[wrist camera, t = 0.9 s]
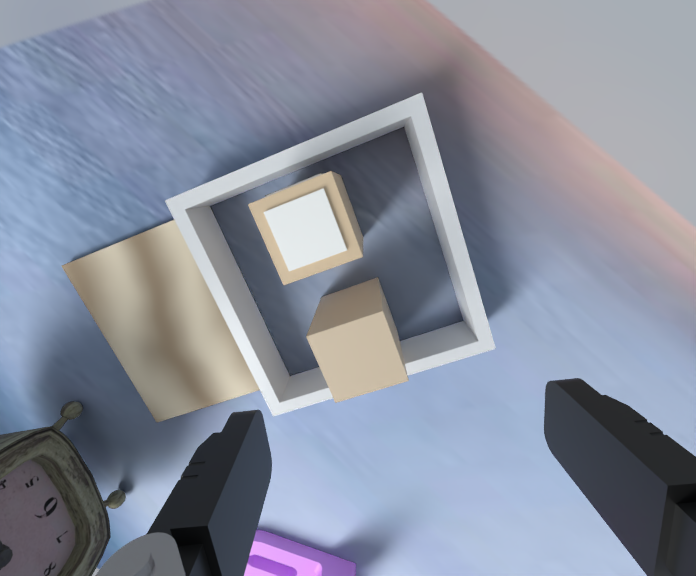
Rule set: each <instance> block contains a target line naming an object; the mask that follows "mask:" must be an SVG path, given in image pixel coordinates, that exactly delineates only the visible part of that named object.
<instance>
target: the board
mask: <svg viewBox="0 0 696 576" xmlns="http://www.w3.org/2000/svg"><path fill="white" fill-rule="evenodd" d="M62 268H63V269H64V271H65V273H66V274H67V276H68V278H69V279H70V281H71V283H72V284H73V286H74V287H75V289H76V291H77V292H78V294H79V296H80V297H81V299H82V301H83V302H84V304H85V306H86V307H87V309H88V310H89V312H90V314H91V315H92V317H93V319H94V320H95V322H96V324H97V325H98V327H99V329H100V330H101V332H102V333H103V335H104V337H105V338H106V340H107V342H108V343H109V345H110V347H111V348H112V350H113V352H114V353H115V355H116V356H117V358H118V360H119V361H120V363H121V365H122V366H123V368H124V370H125V371H126V373H127V375H128V376H129V378H130V379H131V381H132V383H133V384H134V386H135V388H136V389H137V391H138V393H139V394H140V396H141V397H142V399H143V401H144V402H145V404H146V406H147V407H148V409H149V411H150V412H151V414H152V416H153V417H154V419H155V420H156V422H161V421H164V420H167V419H170V418H173V417H176V416H180V415H183V414H186V413H189V412H192V411H195V410H198V409H202V408H205V407H208V406H211V405H214V404H217V403H220V402H224V401H227V400H230V399H233V398H236V397H239V396H242V395H246V394H249V393H252V392H255V391H258V390H260V389H259V387H258V385H257V383H256V381H255V379H254V377H253V375H252V373H251V371H250V369H249V367H248V365H247V363H246V361H245V359H244V357H243V355H242V353H241V351H240V349H239V347H238V345H237V343H236V341H235V339H234V337H233V335H232V333H231V331H230V329H229V327H228V325H227V323H226V321H225V319H224V317H223V315H222V313H221V311H220V309H219V307H218V305H217V303H216V301H215V299H214V297H213V295H212V293H211V291H210V289H209V287H208V286H207V284H206V282H205V280H204V278H203V276H202V274H201V272H200V270H199V268H198V266H197V264H196V262H195V260H194V258H193V256H192V254H191V252H190V250H189V248H188V246H187V244H186V242H185V240H184V238H183V236H182V234H181V232H180V230H179V228H178V226H177V224H176V222H175V220H172V221H170V222H167V223H165V224H162V225H160V226H157V227H155V228H153V229H150V230H148V231H145V232H143V233H140V234H138V235H135V236H133V237H131V238H128V239H126V240H123V241H121V242H118V243H116V244H114V245H111V246H109V247H106V248H104V249H101V250H99V251H96V252H94V253H92V254H89V255H87V256H84V257H82V258H79V259H77V260H75V261H72V262H70V263H67V264H65V265H62Z"/></svg>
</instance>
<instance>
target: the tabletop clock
mask: <svg viewBox="0 0 696 576" xmlns="http://www.w3.org/2000/svg"><path fill="white" fill-rule="evenodd" d="M82 410H83V407H82V405H81V403H79V402H75V401H72V402H68V403H66V404H65V405H64V406H63V407H62V409H61V416H62V417H61V418H60V419H59V420H58V421H57V422H56V423H55V424H54V425H53V426H50V427H44V428H38V429H32V430H26V431H20V432H14V433H8V434H2V435H0V576H92V574H93V572H94V571H95V569H96V567H97V565H98V563H99V562H100V560H101V558H102V556H103V554H104V551H105V549H106V546H107V544H108V541H109V539H110V537H111V536H110V524H109V518H108V513H107V510H106V506H108V507H109V508H112V509H115V508H118V507H119V506H121V505H122V504H123V502H124V501H125V498H126V495H125V492H124V491H122V490H116V491H114V492H112V493H111V494H110V495H109V497H108V498H107V500H105V501H103V500H102V497H101V495H100V492H99V490H98V488H97V485H96V483H95V480H94V478H93V476H92V474H91V472H90V470H89V469H88V467H87V466H86V464H85V462H84V461H83V459H82V458H81V456H80V454H79V453H78V451H77V450H76V448H75V447H74V445H73V444H72V442H71V441H70V440H69V439H68V438H67V437H66V436H65V434H63V433H62V432H60V431H59V430H60V429H61V428H62V426H63V425H64V424H65V422H66V421H67V420H68V419H69V420H71V419H75V418H77V417H78V416H79V415H80V414H81V413H82Z"/></svg>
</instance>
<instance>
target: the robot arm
mask: <svg viewBox="0 0 696 576" xmlns="http://www.w3.org/2000/svg"><path fill="white" fill-rule="evenodd" d="M544 434H545V438H546V442H547V444H548V447H549V449H550V451H551V452H552V454H553V455H554V457H555V458H556V459H557V460H558V462H559V463H560V464H561V466H562V467H563V468H564V469H565V471H566V472H567V473H568V474H569V476H570V477H571V478H572V480H573V481H574V482H575V483H576V485H577V486H578V487H579V489H580V490H581V491H582V492H583V494H584V495H585V496H586V498H587V499H588V500H589V501H590V503H591V504H592V505H593V507H594V508H595V509H596V510H597V512H598V513H599V514H600V516H601V517H602V518H603V519H604V521H605V522H606V523H607V525H608V526H609V527H610V528H611V530H612V531H613V532H614V534H615V535H616V536H617V537H618V539H619V540H620V541H621V543H622V544H623V545H624V546H625V548H626V549H627V550H628V552H629V553H630V554H631V555H632V557H633V558H634V559H635V561H636V562H637V563H638V564H639V566H640V567H641V568H642V570H643V571H644V572H645V573H646V575H647V576H696V457H695V456H694V455H693V454H691V453H690V452H689V451H687V450H686V449H685V448H683V447H682V446H681V445H679V444H678V443H677V442H675V441H674V440H673V439H672V438H670V437H669V436H668V435H664V434H663V432H662V431H661V430H660V429H658V428H657V427H656V426H654V425H653V424H652V423H648V422H647V419H645V418H644V417H643V416H641V415H640V414H639V413H637V412H636V411H635V410H633V409H632V408H631V407H630V406H628V405H626V404H624V403H622V402H619V401H617V400H615V399H613V398H611V397H609V396H607V395H601V394H599V393H598V392H597V391H596V390H594V389H593V388H592V387H591V386H589V385H588V384H587V383H586V382H584V381H583V380H582V379H579V378H575V379H565V380H555V381H549V382H548V383H547V385H546V390H545V416H544ZM271 471H272V459H271V452H270V448H269V443H268V438H267V433H266V429H265V424H264V419H263V415H262V413H261V411H260V410H252V411H243V412H233V413H232V414H231V415H230V417H229V419H228V421H227V423H226V425H225V426H224V428H223V430H222V432H220V433H213V434H212V435H211V436H210V437H209V438H208V439H207V440H205V441H204V442H203V443H202V444H201V445H200V446H199V447H198V448H197V450H196V452H195V453H194V455H193V457H192V458H191V460H190V462H189V466H187V467H186V469H185V470H184V472H183V474H182V475H181V480H178V482H177V484H176V485H175V487H174V489H173V490H172V492H171V494H170V496H169V497H168V499H167V501H166V502H165V504H164V506H163V507H162V509H161V511H160V512H159V514H158V516H157V517H156V519H155V521H154V523H153V524H152V526H151V528H150V529H149V531H148V533H147V534H146V535H144V536H141V537H139V538H137V539H135V540H133V541H131V542H129V543H128V544H126V545H125V546H123V547H122V548H121V549H119V550H118V551H117V552H116V553H114V554H113V555H112V556H111V557H110V558H109V559H108V560H107V561H106V562H105V563H104V565H103V566H102V567H101V569H100V570H99V572H98V573H97V575H96V576H244V573H245V570H246V566H247V563H248V559H249V555H250V552H251V548H252V544H253V541H254V537H255V533H256V530H257V526H258V523H259V519H260V515H261V512H262V508H263V504H264V501H265V497H266V493H267V490H268V486H269V483H270V479H271Z"/></svg>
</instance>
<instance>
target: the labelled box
mask: <svg viewBox="0 0 696 576" xmlns="http://www.w3.org/2000/svg"><path fill="white" fill-rule="evenodd" d="M248 206H249V208H250V210H251V213H252V215H253V217H254V219H255V222H256V224H257V226H258V229H259V231H260V233H261V235H262V238H263V240H264V242H265V244H266V247H267V249H268V251H269V253H270V256H271V258H272V260H273V262H274V265H275V267H276V269H277V272H278V274H279V276H280V278H281V281H282V283H283V285H286V284H289V283H292V282H295V281H297V280H300V279H303V278H306V277H309V276H311V275H314V274H317V273H320V272H322V271H325V270H328V269H331V268H333V267H336V266H339V265H342V264H345V263H347V262H350V261H353V260H356V259H358V258H361V257H363V235H362V232H361V230H360V227H359V224H358V221H357V219H356V216H355V213H354V210H353V208H352V205H351V202H350V199H349V197H348V194H347V191H346V188H345V186H344V183H343V180H342V177H341V175H339V174H337V173H335V172H332V171H330V172H327V173H325V174H322V173H320V174H317V175H315V176H313V177H310V178H308V179H305V180H303V181H300V182H298V183H295V184H293V185H290V186H288V187H285V188H283V189H280V190H278V191H275V192H273V193H270V194H268V195H266V196H265V198H263V199H260V200H258V201H255V202H253V203H250V204H248Z"/></svg>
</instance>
